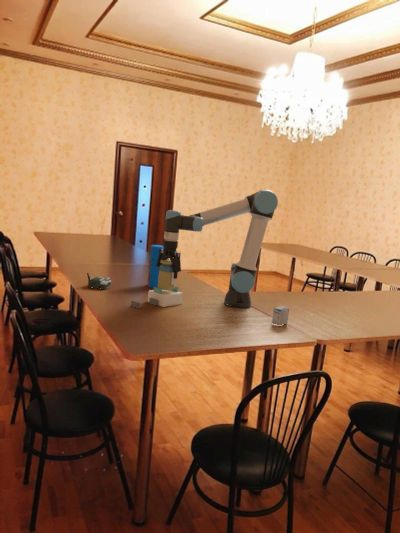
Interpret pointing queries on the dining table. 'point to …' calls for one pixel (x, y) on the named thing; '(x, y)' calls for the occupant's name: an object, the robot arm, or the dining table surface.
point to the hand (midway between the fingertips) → (166, 282)
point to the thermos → (154, 266)
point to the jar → (165, 275)
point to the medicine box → (280, 315)
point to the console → (162, 297)
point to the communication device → (99, 282)
